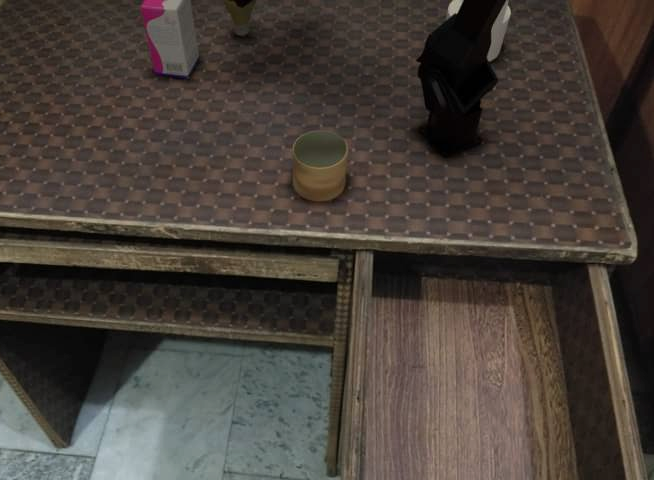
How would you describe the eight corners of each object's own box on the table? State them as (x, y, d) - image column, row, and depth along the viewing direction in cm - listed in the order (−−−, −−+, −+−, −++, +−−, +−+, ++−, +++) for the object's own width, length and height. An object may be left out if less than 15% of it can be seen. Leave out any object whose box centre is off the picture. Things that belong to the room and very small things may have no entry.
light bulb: (256, 45, 103) (252, -14, 95) (223, 44, 104) (216, -15, 95) (261, 25, 106) (258, -34, 98) (229, 24, 107) (223, -35, 98)
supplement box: (200, 57, 102) (190, -12, 93) (188, 79, 99) (176, 11, 90) (167, 53, 103) (153, -16, 94) (154, 75, 100) (138, 7, 91)
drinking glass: (431, 36, 101) (445, -39, 91) (483, 25, 102) (503, -52, 92) (456, 69, 96) (473, -7, 86) (511, 57, 97) (534, -20, 87)
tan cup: (355, 190, 84) (358, 156, 79) (307, 208, 82) (308, 175, 77) (329, 157, 87) (331, 123, 82) (284, 174, 86) (283, 140, 81)
